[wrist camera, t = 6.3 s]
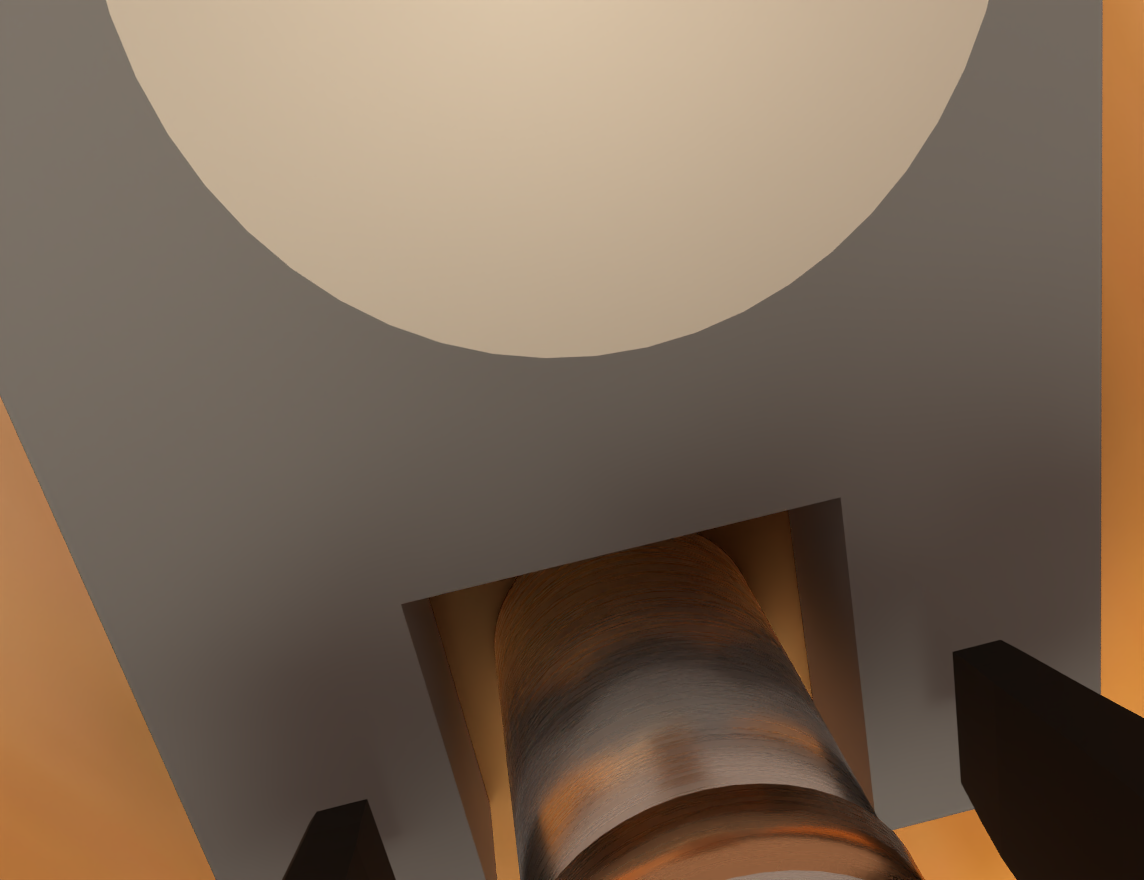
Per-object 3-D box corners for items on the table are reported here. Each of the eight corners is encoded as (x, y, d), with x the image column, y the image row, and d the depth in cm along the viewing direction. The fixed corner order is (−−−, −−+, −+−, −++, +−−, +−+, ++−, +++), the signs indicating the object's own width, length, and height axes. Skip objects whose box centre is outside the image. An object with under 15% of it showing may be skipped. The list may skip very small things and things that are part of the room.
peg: (674, 783, 17) (822, 1240, 11) (439, 699, 16) (452, 1158, 10) (812, 576, 16) (1068, 953, 10) (570, 469, 15) (683, 819, 9)
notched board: (1010, 674, 17) (1395, 1113, 11) (286, 857, 17) (197, 1446, 10) (962, -577, 11) (1851, -1508, 4) (-202, -348, 11) (-1361, -994, 4)
